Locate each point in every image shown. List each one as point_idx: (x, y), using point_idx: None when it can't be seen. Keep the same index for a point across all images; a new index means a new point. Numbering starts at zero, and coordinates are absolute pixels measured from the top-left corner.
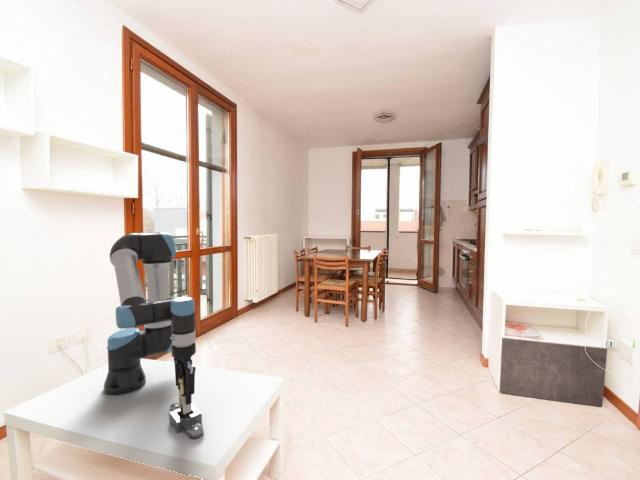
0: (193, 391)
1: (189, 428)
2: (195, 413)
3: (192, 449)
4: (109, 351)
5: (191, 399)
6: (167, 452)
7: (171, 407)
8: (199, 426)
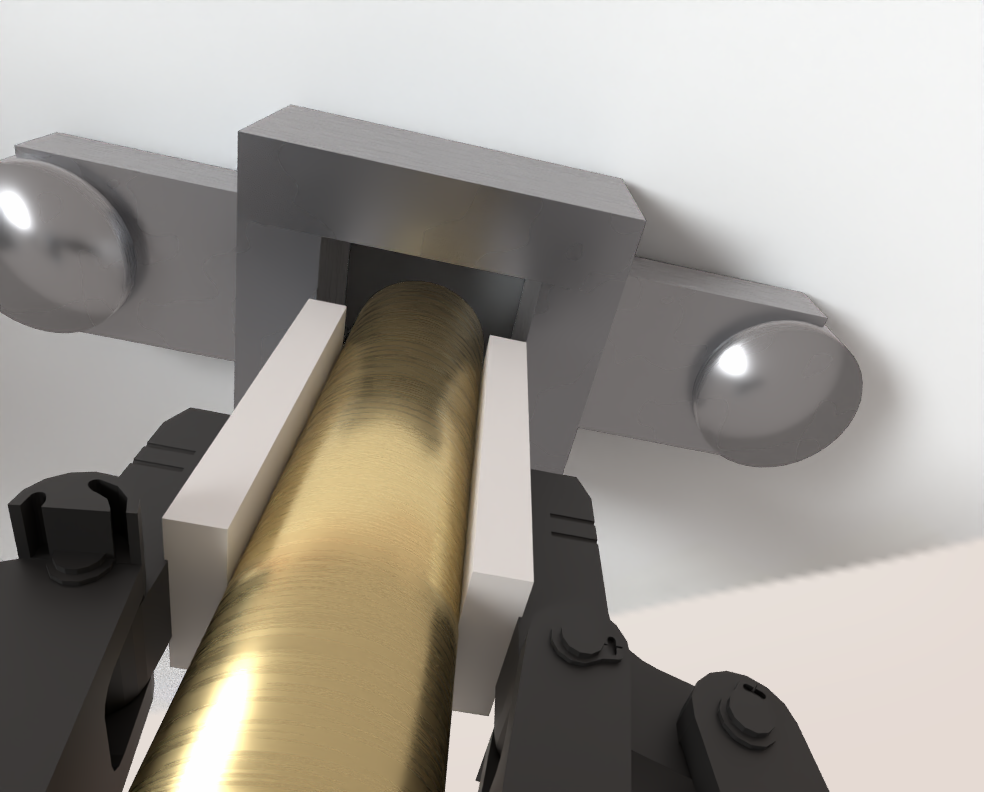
0: (805, 787)
1: (663, 411)
2: (567, 286)
3: (871, 485)
4: None
5: (529, 464)
6: (684, 597)
7: (55, 324)
8: (787, 356)
